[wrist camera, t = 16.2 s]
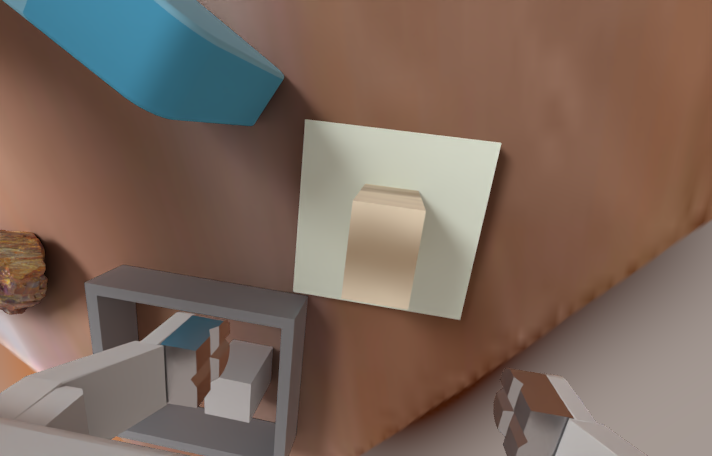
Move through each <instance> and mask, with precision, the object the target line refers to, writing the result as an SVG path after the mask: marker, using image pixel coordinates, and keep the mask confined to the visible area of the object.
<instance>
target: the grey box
mask: <svg viewBox="0 0 712 456" xmlns="http://www.w3.org/2000/svg"><path fill="white" fill-rule="evenodd" d="M229 345H230V353H229V359H228V362H227V365H226V367H225V370H224V372H223V373H222V374H221V376H220V377H219V378H218V379H216V380H214V381H212V382H211V390H210V391H209V393H208V394H207V395H206V397H205V398H204V400H205V414H210V415H214V416H219V417H224V418H229V419H233V420H238V421H243V422H247V423H249V422H250V420H251V419H252V417H253V415H254V413H255V411H256V409H257V407H258V405H259V403H260V401H261V399H262V397H263V396H264V394H265V392H266V390H267V388H268V386H269V384H270V382H271V372H272V356H273V347H271V346H265V345H260V344H255V343H250V342H245V341H239V340H234V339H233V340H232V342H231V343H230V344H229Z"/></svg>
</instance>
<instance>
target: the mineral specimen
mask: <svg viewBox="0 0 712 456" xmlns="http://www.w3.org/2000/svg"><path fill="white" fill-rule="evenodd" d="M44 258H45V251H44V248H43V245H42V244H41V242H40V241H39V239H38V238H36V236H35V235H34V234H33V233H31V232H23V231H6V230H0V309H1V310H3V311H4V312H5V313H7V314H10V315H12V314H20V313H21V314H22V313H23V312H25V310H26V309H27V308H28V307H33V305H37V304H38V303H39V302H40V300H41V299H42V298H43V297H45V296H46V295H45V292H46V290H47V281H48V278H46V277H45V276H44V272H45V270H46V269H45V263H44Z"/></svg>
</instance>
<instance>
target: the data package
mask: <svg viewBox="0 0 712 456" xmlns="http://www.w3.org/2000/svg"><path fill="white" fill-rule="evenodd" d="M3 1H4V2H5V3H6V4H8V5H9V6H10V7H11V8H13V9H14V10H15V11H16V12H18V13H19V14H20V15H21V16H23V17H24V18H25V19H26V20H28V21H29V22H30V23H31V24H33V25H34V26H35V27H37V28H38V29H39V30H40V31H42V32H43V33H44V34H45V35H47V36H48V37H49V38H50V39H52V40H53V41H54V42H55V43H57V44H58V45H59V46H60V47H62V48H63V49H64V50H66V51H67V52H68V53H69V54H71V55H72V56H73V57H74V58H76V59H77V60H78V61H79V62H81V63H82V64H83V65H84V66H86V67H87V68H88V69H89V70H91V71H92V72H93V73H94V74H96V75H97V76H98V77H100V78H101V79H102V80H103V81H105V82H106V83H107V84H108V85H110V86H111V87H112V88H113V89H115V90H116V91H117V92H118V93H120V94H121V95H122V96H124V97H125V98H126V99H128V100H129V101H131V102H132V103H134V104H135V105H137V106H139V107H140V108H142V109H144V110H146V111H148V112H150V113H152V114H155V115H157V116H160V117H163V118H166V119H171V120H181V121H194V122H206V123H218V124H230V125H242V126H253V125H254V124H255V123H256V121H257V119H258V118H259V116H260V115H261V113H262V112H263V110H264V109H265V107H266V106H267V104H268V102H269V101H270V99H271V98H272V96H273V95H274V93H275V92H276V90H277V89H278V87H279V85H280V84H281V82H282V81H283V79H284V75H283V73H282V72H281V71H280V70H279V69H278V68H277V67H275V66H274V65H273V64H272V63H271V62H269V61H268V60H267V59H266V58H265V57H264V56H262V55H261V54H260V53H259V52H258V51H256V50H255V49H254V48H253V47H252V46H250V45H249V44H248V43H247V42H246V41H244V40H243V39H242V38H241V37H240V36H238V35H237V34H236V33H235V32H234V31H232V30H231V29H230V28H229V27H228V26H226V25H225V24H224V23H223V22H222V21H220V20H219V19H218V18H217V17H216V16H214V15H213V14H212V13H211V12H210V11H208V10H207V9H206V8H205V7H204V6H202V5H201V4H200V3H199V2H198V1H196V0H3Z"/></svg>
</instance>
